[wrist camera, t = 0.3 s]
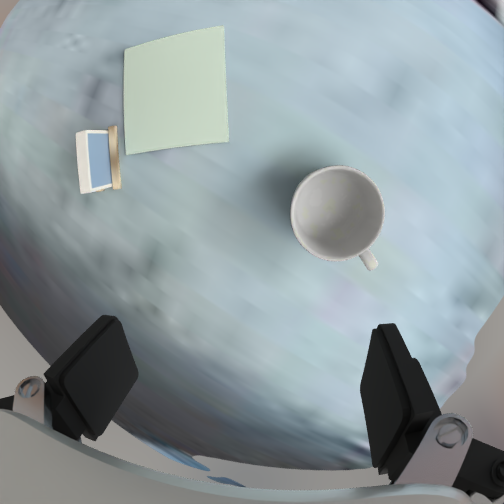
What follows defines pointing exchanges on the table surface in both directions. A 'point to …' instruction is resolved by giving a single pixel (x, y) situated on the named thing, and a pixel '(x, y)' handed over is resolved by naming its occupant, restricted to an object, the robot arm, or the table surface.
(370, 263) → the teacup
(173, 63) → the mat
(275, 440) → the table surface
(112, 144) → the holder
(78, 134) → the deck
